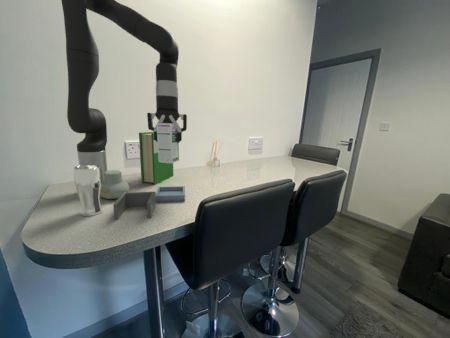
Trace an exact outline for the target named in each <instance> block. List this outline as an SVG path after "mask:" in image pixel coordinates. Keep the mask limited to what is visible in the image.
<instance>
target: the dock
mask: <svg viewBox="0 0 450 338" xmlns="http://www.w3.org/2000/svg"><path fill="white" fill-rule="evenodd" d="M156 205H157V202H156V191H129V192H124V193H123V194H122V195H121V196H120V197H119V198H116V200H115V202H114V203H113V205H112V206H113V215H114V220H119V219H120V218H121V216H122V215H123V213H124V212H125V210H126V209H127V208H130V207H132V208H133V207H135V208H136V207H146V208H147V212H146V213H147V219H150V218H151V219H152V216H153V214H154V213H155V212H154V211H155V209H156Z"/></svg>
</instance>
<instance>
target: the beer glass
mask: <svg viewBox="0 0 450 338" xmlns="http://www.w3.org/2000/svg"><path fill="white" fill-rule="evenodd" d="M73 181H74V188H75V190H76V193H77V196H78V199H79V202H80V216H83V217H92V216H96V215H100V214H101V213H102V212H103V211H104V209H103V207H102V203H101V196H100V195H101V174H100V169H99V166H98V165H82V166H79V165H77V166H74V167H73Z"/></svg>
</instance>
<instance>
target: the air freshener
mask: <svg viewBox="0 0 450 338" xmlns="http://www.w3.org/2000/svg"><path fill="white" fill-rule="evenodd" d="M130 189H131V188H130V185H129V183H127V182H126V181H123V177H122V171H121V170H119V169H118V170H117V169H112V170H108V171H106V172H104V183H103V184H101V195H100V198H104V199H106V200H115V199H116V200H117V199H118V198H119V197H120V196H121V195H122V194H123V193H124V192H130Z"/></svg>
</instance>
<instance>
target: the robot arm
mask: <svg viewBox="0 0 450 338" xmlns="http://www.w3.org/2000/svg"><path fill="white" fill-rule="evenodd" d="M61 6H62V13H63V21H64V33H65V53H66V66H67V80H68V81H67V82H68V84H67V85H68V86H67V87H68V89H67V90H68V92H67V93H68V94H67V109H66V110H67V111H66V112H67V113H66V117H67V123H68V125H69V128H70V129H71V130H72V131H73V132H75V133H77V134H84V138H83V139H82V140H81V141H79V142H78V143H77V144H76V151H77V157H78V158H77V159H78V166H82V165H98V166H99V169H100V174H101V184H103V183H104V172H106V171H109V170H108V162H107V161H108V160H107V151H106V146H107V143H108V128H107V126H108V124H107V119H106V117H105V114H104V113H103V112H102V111H101V110H100V109H97V108H94V107H93V108H91V107H90V105H89V103H90V99H89V98H90V93H91V90H92V87H93V86H94V84H95V82H96V81H97V79H98V76H99V74H100V73H99V72H100V56H99V49H98V46H97V43H96V40H95V38H94V37H95V36H94V35H93V32H92V30H91V27H90V25H89V21H88V14H87V12H88V11H91V12H92V13H95V14H98V15H99V16H101V17H104V18H107V19H108V20H109V21H111V22H112V23H115V24H116V25H117V26H118V27H120V28H121V30H124V31H125V33H126V32H127V33H128V34H130V35H131V36H133V37H134V38H136V39H137V40H138V41H140V42H142V43H145V44H146V45H148V46H149V47H151V48H152V49H153V50H155V51H156V52H157V53H158V54H159V63H157V64H156V65H155V102H156V103H155V104H156V105H155V106H156V111H155V112H147V113H146V115H147V126H148V127H147V128H148V130H149V131H151V132H154V140H155V141H156V142H158V141H157V124H159V123H172V124H174V126H175V127H176V129H177V130H178V144H180V143H181V142H182V137H183V136H182V134H183V132H186V131H187V127H188V125H187V124H188V123H187V120H188V116H187V114H185V113H184V114H182V113H179V92H178V91H179V88H178V74H177V73H178V72H177V69H178V62H179V53H180V52H179V44H178V42H177V40H176V39H175V38H174V36H173V35H172V34H171V32H169V31H168V30H167V29H166V28H164V27H163V26H161V25H159V24H157V23H155V22H152V21H151V20H150V19H148V18H147V17H145V16H144V15H142V14H141V13H139V12H138V11H136V10H135V9H133V8H131V7H130V6H127V5H124V4H122V3H120V2H119V1H116V0H61ZM87 10H88V11H87ZM155 117H156V119H157V120H158V121H157V123H156V124H155V126H154V125H153V124H154V123H153V120H154V119H155ZM179 118H180V120H182V123H183V124H182V127H180V125H179V123H178V122H177V121H179V120H178V119H179Z"/></svg>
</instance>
